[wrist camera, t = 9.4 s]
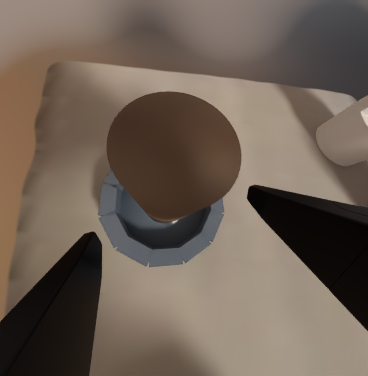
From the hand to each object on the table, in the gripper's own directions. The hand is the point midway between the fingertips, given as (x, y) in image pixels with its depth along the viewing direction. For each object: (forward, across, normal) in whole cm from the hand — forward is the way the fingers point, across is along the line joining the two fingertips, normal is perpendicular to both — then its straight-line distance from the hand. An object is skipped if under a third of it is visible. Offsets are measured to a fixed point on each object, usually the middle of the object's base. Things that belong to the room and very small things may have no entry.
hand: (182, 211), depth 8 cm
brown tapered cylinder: (+8, 0, +5) cm, 9 cm away
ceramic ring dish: (+9, 0, +5) cm, 10 cm away
